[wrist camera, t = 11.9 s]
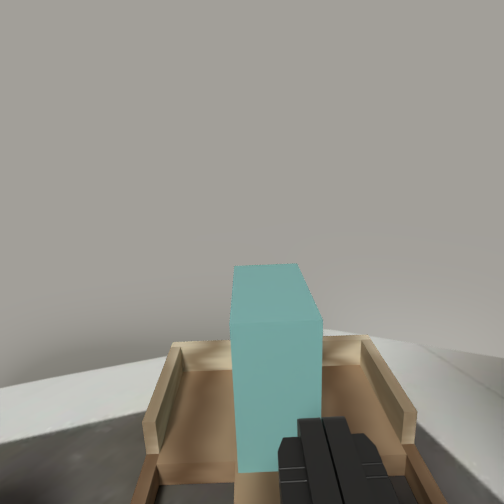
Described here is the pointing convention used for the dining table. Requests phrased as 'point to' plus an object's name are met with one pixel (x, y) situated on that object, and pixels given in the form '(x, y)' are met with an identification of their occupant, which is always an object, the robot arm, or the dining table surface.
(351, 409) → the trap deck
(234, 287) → the teal box
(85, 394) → the dining table surface
